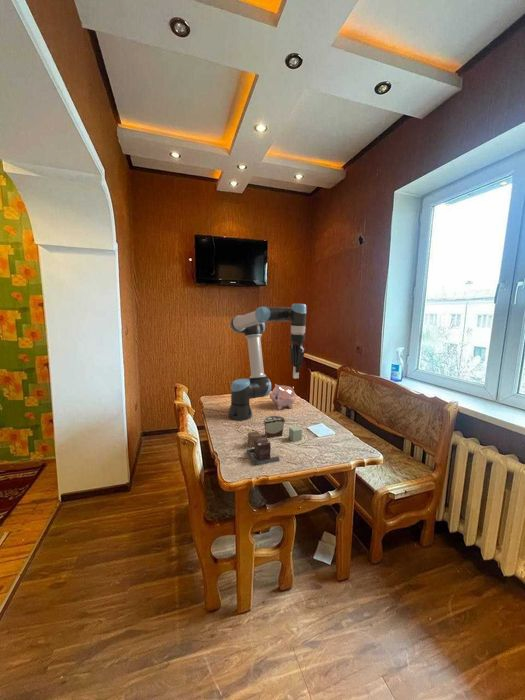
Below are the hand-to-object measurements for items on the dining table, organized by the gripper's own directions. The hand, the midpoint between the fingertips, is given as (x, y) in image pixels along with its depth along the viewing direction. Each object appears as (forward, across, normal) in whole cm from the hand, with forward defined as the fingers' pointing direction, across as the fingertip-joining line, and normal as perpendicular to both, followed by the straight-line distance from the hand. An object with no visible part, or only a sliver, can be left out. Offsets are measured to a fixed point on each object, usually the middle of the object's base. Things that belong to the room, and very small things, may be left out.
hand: (295, 377), depth 147 cm
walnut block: (+33, -3, +24) cm, 41 cm away
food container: (+33, +4, +11) cm, 35 cm away
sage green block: (+33, -4, +1) cm, 33 cm away
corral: (+32, -15, +24) cm, 43 cm away
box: (+33, -14, +24) cm, 43 cm away
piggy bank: (+33, +42, -13) cm, 55 cm away
